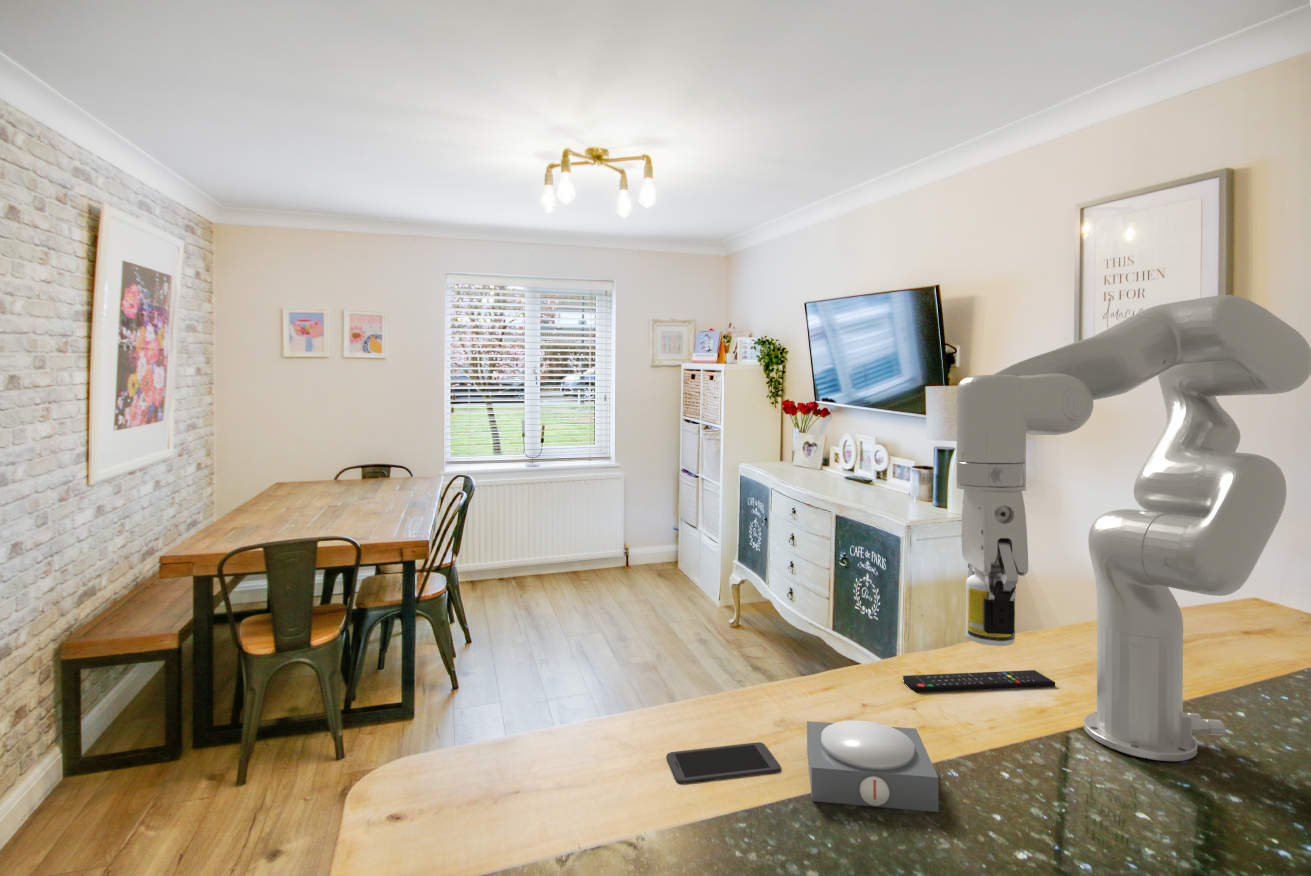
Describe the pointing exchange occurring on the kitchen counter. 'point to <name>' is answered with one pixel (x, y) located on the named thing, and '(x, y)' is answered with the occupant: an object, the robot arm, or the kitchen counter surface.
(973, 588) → the supplement bottle
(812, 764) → the kitchen scale
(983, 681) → the remote control
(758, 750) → the cell phone
